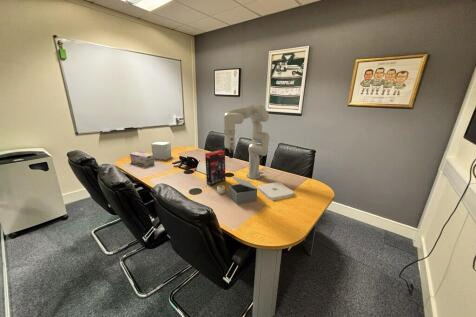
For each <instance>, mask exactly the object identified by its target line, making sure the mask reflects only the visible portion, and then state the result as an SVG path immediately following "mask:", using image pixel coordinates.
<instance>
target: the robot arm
mask: <svg viewBox="0 0 476 317" xmlns="http://www.w3.org/2000/svg"><path fill="white" fill-rule="evenodd" d="M269 117H270V115H269V111H268V110H267V109H266V107H265V106H264V105H263V104H259V103H257V104H256V103H250V104H248V105H246V106H243V107H241V108H236V109H231V110H229V111H226V113H225V114H224V115H223V135H224V140H223V141H224V151H225V155H228V158H229V159H234V157H235V149H236V137H235V135H236V125H241V124H243V123H244V121H245V120H246V119H250V120H249V121H250V122H251V123H252V129H251V130H252V131H251V141H253V142H255V143H250V144H249V145H248V154H249V155H248V156H249V159H248V173H247V174H246V177H247V178H248V179H253V180H257V179H258V180H259V179H260V177H261V175H263V174H264V172H263V171H260V156H264V157H265V156H267V155H268V151H269V145H270V144H269V143H270V134H269V133H268V132H265V131H264V132H263V124H262V123H265V122H268V120H269V119H270V118H269Z"/></svg>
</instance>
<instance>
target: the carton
mask: <svg viewBox="0 0 476 317" xmlns="http://www.w3.org/2000/svg"><path fill="white" fill-rule="evenodd" d="M228 196H229V197H230V198H231V199H232V201H233V202H234V203H235V204H236V205H239V204H240V205H241V204H245V203H249V202H252V201H253V202H254V201H257V200H258V199H257V198H258V188H257V189H253V188H250V187H247V186H243V185H240V184H239V183H237V184H230V185H228Z"/></svg>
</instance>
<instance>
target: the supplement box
mask: <svg viewBox="0 0 476 317" xmlns="http://www.w3.org/2000/svg"><path fill="white" fill-rule="evenodd" d="M150 146H151V155H153V156H154V160H155V159H156V160H165V161H166V160H168V159H171V158H172V148H171V142H169V141H168V142H167V141H164V142H163V141H156V142H153V143H151V145H150Z"/></svg>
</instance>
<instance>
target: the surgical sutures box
mask: <svg viewBox="0 0 476 317" xmlns="http://www.w3.org/2000/svg"><path fill="white" fill-rule="evenodd" d="M129 157H130V163H131V164H135V165H138V166H140V165H141V167H144V168H147V167H151V166H153V164H154V165H155V159H154V156H153V155H152V153H146V152H143V151H136V152H131V153H130V152H129ZM150 165H151V166H150Z"/></svg>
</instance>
